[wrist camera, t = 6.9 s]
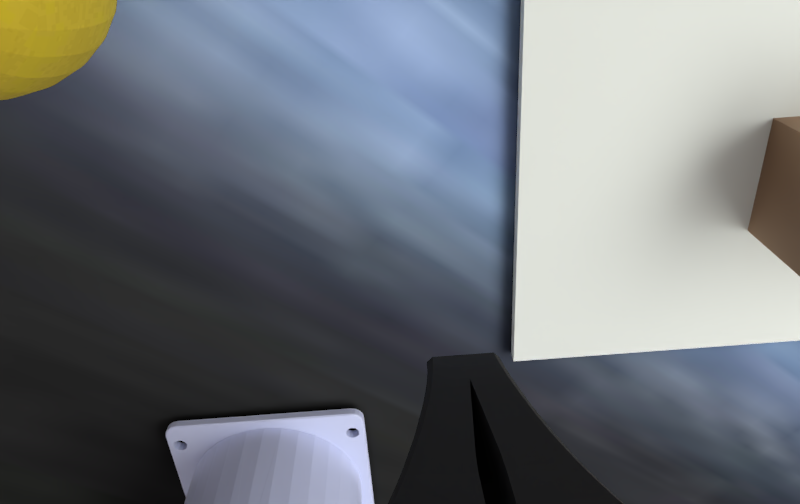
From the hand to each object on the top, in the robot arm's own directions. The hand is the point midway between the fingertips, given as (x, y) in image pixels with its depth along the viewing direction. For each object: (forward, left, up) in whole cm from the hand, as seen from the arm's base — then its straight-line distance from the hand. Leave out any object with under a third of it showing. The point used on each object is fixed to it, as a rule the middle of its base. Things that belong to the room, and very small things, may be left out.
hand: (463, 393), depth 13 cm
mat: (0, -12, -10) cm, 16 cm away
